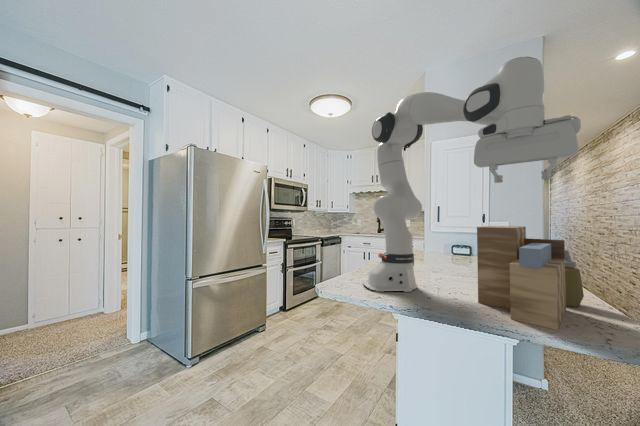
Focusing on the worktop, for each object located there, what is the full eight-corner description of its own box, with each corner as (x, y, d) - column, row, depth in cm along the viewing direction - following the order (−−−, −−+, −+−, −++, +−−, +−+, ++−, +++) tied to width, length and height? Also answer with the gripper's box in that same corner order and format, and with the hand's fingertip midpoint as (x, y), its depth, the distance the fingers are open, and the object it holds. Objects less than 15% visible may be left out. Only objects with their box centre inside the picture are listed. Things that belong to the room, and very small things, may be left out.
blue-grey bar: (540, 268, 68) (540, 249, 68) (519, 265, 71) (519, 247, 71) (551, 259, 80) (551, 243, 81) (533, 258, 84) (532, 242, 84)
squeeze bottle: (563, 299, 91) (562, 248, 91) (591, 307, 83) (590, 251, 83) (544, 301, 89) (543, 249, 90) (570, 309, 81) (569, 252, 82)
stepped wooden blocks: (557, 330, 67) (555, 230, 67) (468, 308, 83) (467, 228, 83) (566, 308, 82) (564, 227, 83) (490, 294, 98) (489, 225, 98)
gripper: (581, 116, 58) (581, 177, 58) (479, 136, 73) (479, 185, 73) (579, 108, 54) (579, 174, 54) (471, 132, 69) (471, 183, 69)
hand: (521, 180), depth 64 cm, fingers open, 8 cm apart
